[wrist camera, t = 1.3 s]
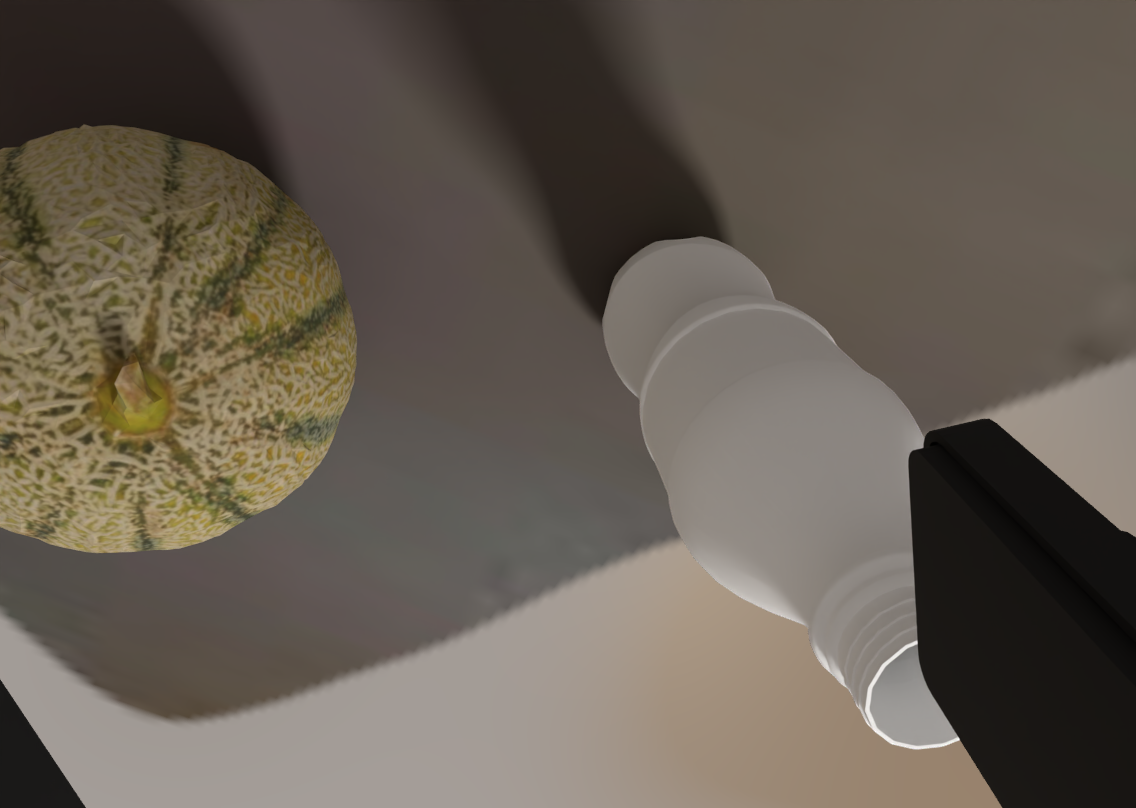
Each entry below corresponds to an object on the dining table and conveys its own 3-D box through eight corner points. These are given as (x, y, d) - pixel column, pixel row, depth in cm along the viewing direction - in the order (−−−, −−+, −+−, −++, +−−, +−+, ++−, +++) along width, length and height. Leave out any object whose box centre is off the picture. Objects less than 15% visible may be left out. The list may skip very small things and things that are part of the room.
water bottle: (564, 330, 40) (684, 756, 17) (651, 191, 38) (921, 469, 15) (693, 401, 42) (952, 865, 19) (783, 273, 40) (1194, 627, 17)
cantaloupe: (-56, 311, 37) (-366, 488, 23) (126, 17, 33) (-116, 22, 20) (255, 497, 42) (150, 734, 28) (445, 259, 38) (429, 399, 24)
